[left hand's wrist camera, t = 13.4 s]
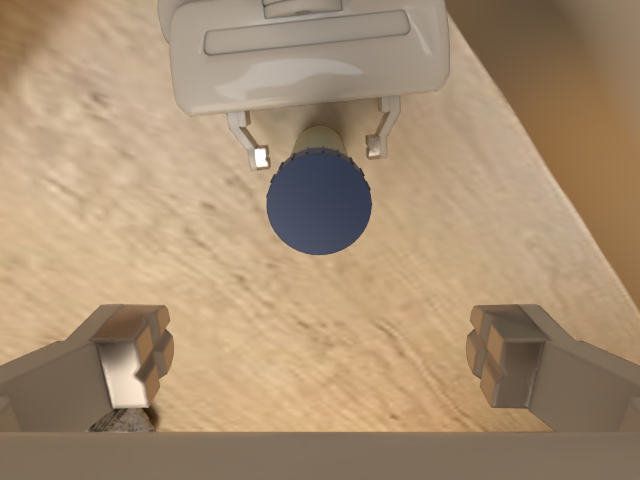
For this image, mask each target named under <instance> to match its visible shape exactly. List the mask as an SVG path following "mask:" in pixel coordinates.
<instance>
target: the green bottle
mask: <svg viewBox="0 0 640 480" xmlns="http://www.w3.org/2000/svg"><path fill="white" fill-rule="evenodd" d="M322 146H324V148H329V149H333V150H336V151H337V149H338V150H339V152H341V153H343V154H345V155H346V156H347V157H348V155H347V152H346V150H345V147H344V145H343V143H342V140H341V138H340V136H339V135H338V134H337V133H336V132H335V131H334V130H333V129H331V128H329V127H326V126H321V125H318V126H312V127H309V128H307V129H306V130H304V131H303V132H302V133H301V134H300V136H299V137H298V139H297V141H296V144H295V146H294V149H293V151H292V153H291V156H292V154H293V153H294V152H295V153H297V152H299V151H302V150H305V149H307V147H309V148H316V147H322ZM291 156H290V157H291Z"/></svg>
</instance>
